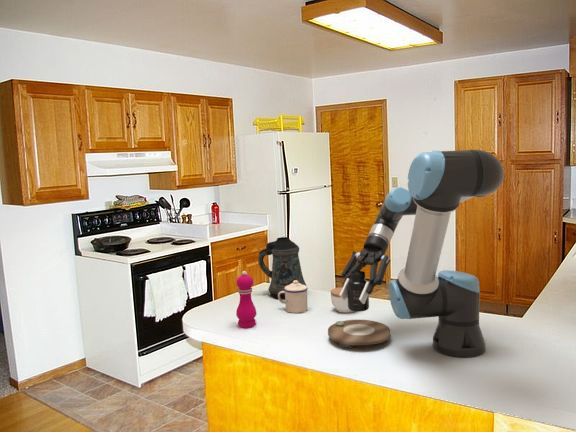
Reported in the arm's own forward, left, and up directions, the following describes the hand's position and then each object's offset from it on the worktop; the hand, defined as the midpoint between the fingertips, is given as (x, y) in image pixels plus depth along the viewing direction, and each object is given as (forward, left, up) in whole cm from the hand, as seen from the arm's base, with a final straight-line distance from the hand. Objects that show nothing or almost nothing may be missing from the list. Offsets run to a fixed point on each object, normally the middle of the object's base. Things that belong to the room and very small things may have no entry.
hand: (351, 299), depth 157 cm
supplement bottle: (0, -4, -4) cm, 6 cm away
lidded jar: (+21, -25, -14) cm, 36 cm away
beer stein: (+54, -27, -14) cm, 62 cm away
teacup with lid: (+38, -14, -14) cm, 43 cm away
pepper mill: (+40, +9, -14) cm, 43 cm away
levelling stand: (0, -3, -14) cm, 15 cm away
